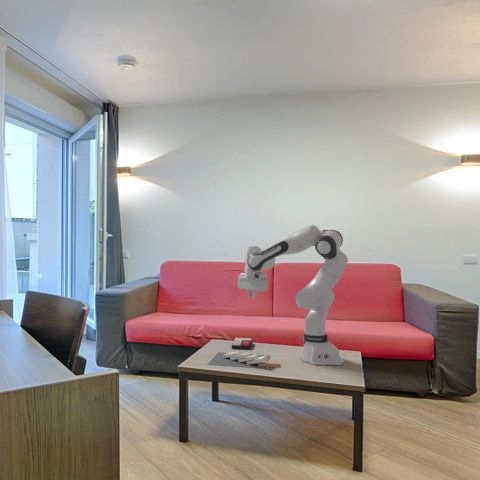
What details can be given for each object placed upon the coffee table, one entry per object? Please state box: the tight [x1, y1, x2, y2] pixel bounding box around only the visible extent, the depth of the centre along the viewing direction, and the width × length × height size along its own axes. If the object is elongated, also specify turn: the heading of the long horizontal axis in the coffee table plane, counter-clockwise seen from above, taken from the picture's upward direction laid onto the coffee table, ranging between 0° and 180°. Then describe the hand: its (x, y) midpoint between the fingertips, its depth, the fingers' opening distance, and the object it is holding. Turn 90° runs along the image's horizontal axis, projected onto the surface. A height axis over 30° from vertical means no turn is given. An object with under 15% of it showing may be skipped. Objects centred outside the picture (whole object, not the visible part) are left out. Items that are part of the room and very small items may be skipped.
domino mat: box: [207, 352, 271, 370], centre depth 203 cm, size 30×23×1 cm
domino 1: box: [222, 350, 243, 358], centre depth 205 cm, size 2×5×10 cm
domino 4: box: [246, 356, 268, 365], centre depth 195 cm, size 2×5×10 cm
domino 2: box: [230, 352, 251, 360], centre depth 202 cm, size 2×5×10 cm
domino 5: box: [258, 360, 279, 368], centre depth 195 cm, size 2×5×10 cm
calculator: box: [231, 337, 253, 351], centre depth 231 cm, size 11×4×15 cm
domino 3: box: [238, 353, 259, 362], centre depth 198 cm, size 2×5×10 cm
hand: (252, 298), depth 222 cm, fingers closed
